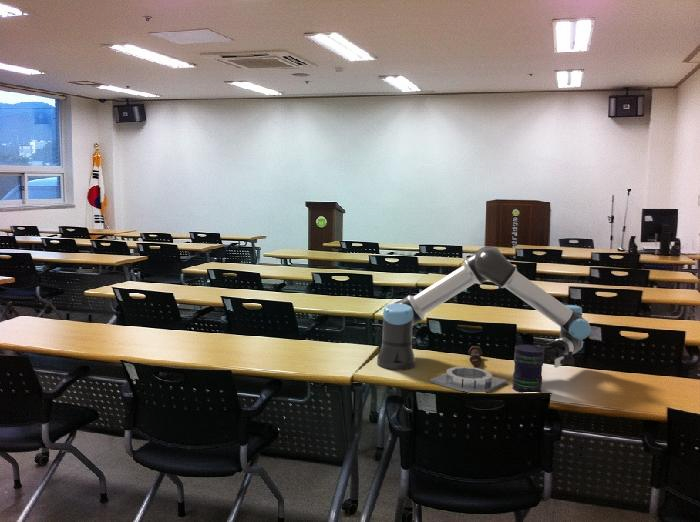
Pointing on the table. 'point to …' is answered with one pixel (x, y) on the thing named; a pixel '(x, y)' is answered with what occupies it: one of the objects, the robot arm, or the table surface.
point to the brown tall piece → (475, 355)
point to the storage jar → (528, 368)
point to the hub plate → (468, 389)
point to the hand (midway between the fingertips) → (536, 359)
